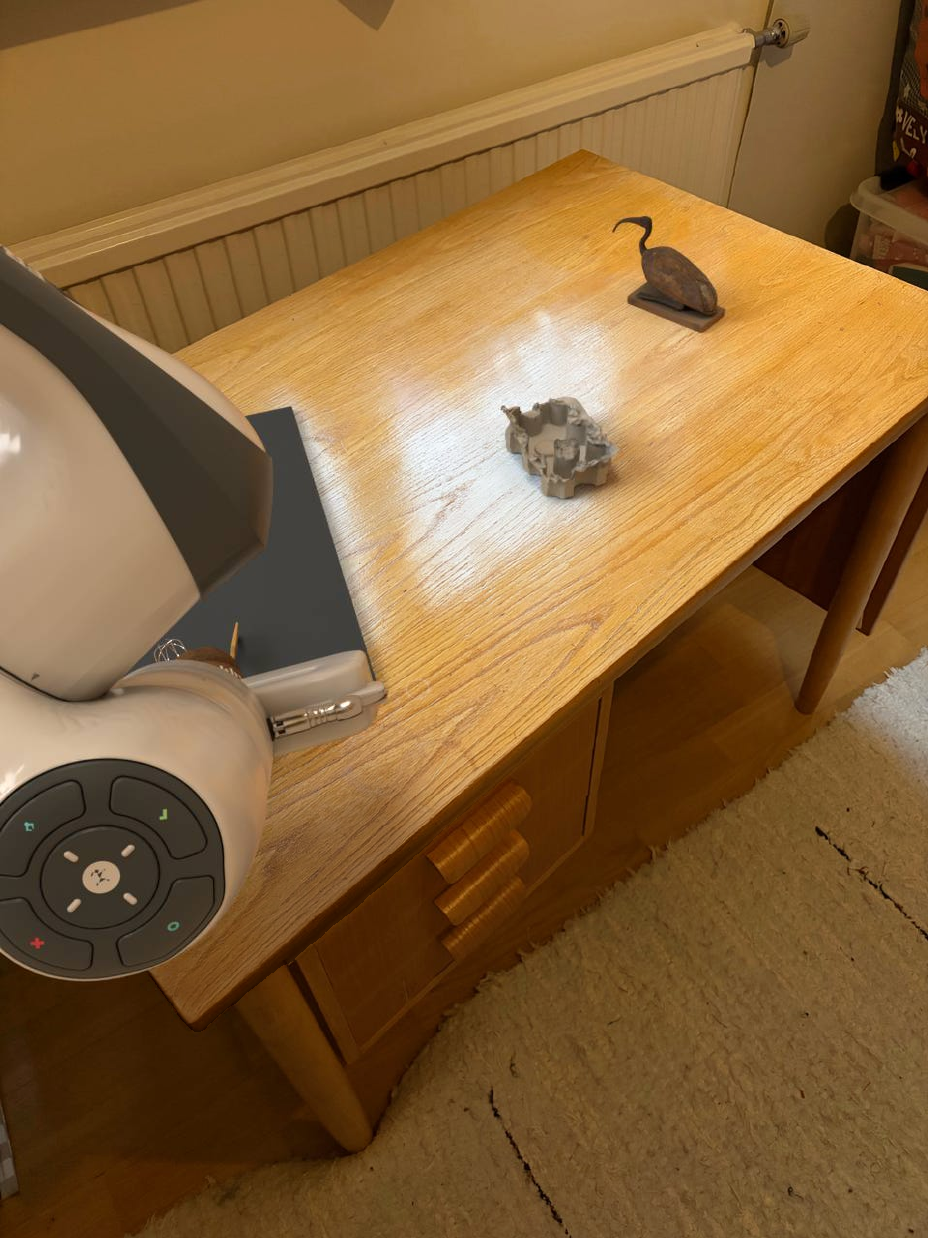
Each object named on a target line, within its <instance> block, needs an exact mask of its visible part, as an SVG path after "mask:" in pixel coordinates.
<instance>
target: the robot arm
mask: <svg viewBox="0 0 928 1238" xmlns="http://www.w3.org/2000/svg"><path fill="white" fill-rule="evenodd" d="M245 416H246V415H244V414H243V412H242V411H241V410H240V409H239V408H238V406H237V405H236V404H234V402H233V401H232V400H231V399H230V398H229V397H228V396H227V395H226V394H225V393H224V392H223V391H222V390H220V388H218V387H217V386H216V385H215V384H213V383H212V382H211V381H210V380H209V379H208V378H206V377H205V376H204V375H203V374H201V373H200V372H199V371H197V370H195V369H194V368H192V367H191V366H190V365H188V364H187V363H186V362H185V361H182V360H180V359H179V358H178V357H176V356H175V355H173V354H171V353H169V352H167V351H166V350H164V349H162V348H160V347H158V346H156V345H155V344H153V343H151V342H149V341H147V340H145V339H144V338H142V337H140V336H138V335H136V334H134V333H132V332H130V331H128V330H126V329H124V328H123V327H120V326H118V325H116V324H115V323H112V322H111V321H109V320H107V319H105V318H103V317H102V316H100V315H97V314H96V313H94V312H92V310H90V309H88V308H87V307H86V306H84V305H83V304H81V303H80V302H79V301H77V300H76V299H74V298H73V297H71V296H70V295H69V294H67V293H66V292H65V291H63V290H62V289H60V288H59V287H57V286H56V285H55V284H54V283H52V282H50V281H49V280H48V279H47V278H45V276H44V275H43V274H42V273H41V272H39V271H38V270H36V269H34V268H32V267H31V266H30V265H28V264H27V262H24V260H23V259H22V258H20V257H19V256H16V255H15V254H14V253H13V252H12V251H10V250H9V249H8V248H7V247H6V246H4V245H3V244H1V243H0V953H1V954H2V955H4V956H5V957H6V958H7V959H9V960H10V961H11V962H13V963H15V964H17V965H18V966H20V967H22V968H24V969H25V970H28V971H31V972H33V973H35V974H37V975H38V974H39V975H42V976H44V977H48V978H53V979H58V980H64V981H71V982H98V981H108V980H114V979H120V978H124V977H128V976H133V975H136V974H140V973H143V972H146V971H149V970H152V969H154V968H155V969H156V967H159V966H161V965H164V964H166V963H167V962H169V961H171V960H173V959H176V958H177V957H178V956H180V955H181V954H183V953H184V952H186V951H187V950H190V949H191V948H193V946H195V945H196V944H197V943H199V942H200V941H201V940H203V939H204V938H205V937H206V936H207V935H208V934H209V933H210V932H211V931H212V930H213V929H214V928H215V927H216V926H217V925H218V923H219V922H220V921H221V920H222V919H223V918H224V917H225V915H226V914H227V913H228V912H229V909H231V907H232V905H233V904H234V902H235V901H236V898H237V897H238V895H239V893H240V892H241V890H242V888H243V886H244V884H245V882H246V879H247V877H248V875H249V874H250V871H251V869H252V868H253V867H252V866H253V864H254V861H255V859H256V856H257V852H258V850H259V848H260V844H261V841H262V837H263V832H264V829H265V823H266V818H267V810H268V794H269V790H270V786H271V779H272V772H273V771H272V770H273V764H274V759H275V758H279V757H283V756H286V755H287V756H288V755H290V754H293V753H298V752H301V751H303V750H304V751H305V750H307V749H308V750H309V749H312V748H315V747H318V746H321V745H322V746H323V745H325V744H328V743H332V742H336V741H340V740H342V739H345V738H349V737H351V736H355V735H356V734H358V733H361V732H363V731H366V730H367V729H368V728H370V727H371V726H372V725H373V724H374V723H375V721H376V719H377V717H378V715H379V711H380V705H382V704H385V703H387V701H388V700H389V696H388V695H389V690H388V688H387V687H386V685H385V684H384V682H383V681H381V680H376V681H373V679H372V675H371V671H370V668H369V664H368V661H367V657H366V654H365V653H364V652H363V651H361V650H353V651H346V652H342V653H338V654H334V655H330V656H326V657H322V658H319V659H315V660H311V661H307V662H304V663H300V664H296V665H292V666H289V667H285V668H281V669H277V670H274V671H270V672H266V673H263V674H259V675H255V676H251V677H248V678H244V679H238V678H237V677H235V676H234V675H233V674H231V673H229V672H227V671H225V670H224V669H221V668H219V667H217V666H214V665H211V664H208V663H204V662H199V661H192V660H168V661H162V662H157V663H154V664H150V665H147V666H145V667H142V668H140V669H137V670H136V671H134V672H132V673H130V674H128V675H127V676H125V677H124V678H122V677H123V676H124V675H125V674H126V673H127V672H128V671H129V670H130V669H131V668H132V667H133V666H134V665H135V664H136V663H137V662H138V661H139V660H140V659H141V658H142V657H143V656H144V655H145V654H146V653H147V652H148V651H149V650H150V649H151V648H152V647H153V646H154V645H155V644H156V643H157V642H158V641H159V640H160V639H161V638H162V637H163V636H164V635H165V634H166V633H167V632H168V631H169V630H170V629H171V628H172V627H173V626H174V625H175V624H176V623H177V622H178V621H179V620H180V619H181V618H182V617H183V616H184V615H185V614H186V613H187V612H188V611H189V610H190V609H191V608H192V607H193V606H194V605H195V604H196V603H197V602H198V601H199V600H200V601H201V602H204V601H205V600H206V599H207V598H208V597H210V596H211V595H212V594H213V593H214V592H216V591H217V590H218V589H219V588H220V587H222V586H223V585H224V584H225V583H226V582H228V581H229V580H230V579H231V578H232V577H234V576H235V575H236V574H237V573H238V572H240V571H241V570H242V569H243V568H244V567H246V566H247V565H248V564H249V563H250V562H252V561H253V560H254V559H255V558H256V557H258V556H259V555H260V554H261V553H262V552H264V551H265V549H266V543H267V538H268V533H269V527H270V520H271V511H272V500H273V464H272V457H270V456H269V455H268V454H267V453H266V451H265V449H264V446H263V444H262V442H261V440H260V438H259V436H258V435H257V433H256V431H255V430H254V428H253V427H252V425H251V424H250V423H249V421H248V420H247V419H246V417H245ZM121 678H122V679H121Z"/></svg>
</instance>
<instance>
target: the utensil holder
mask: <svg viewBox="0 0 928 1238" xmlns="http://www.w3.org/2000/svg"><path fill="white" fill-rule="evenodd" d="M237 634H238V622H236V625H235V630H234V634H233V638H232V643H231V653H230V655H229V654H228V653H227V652H225V651H223V650H220V649H217V648H212V647H201V648H195V649H191V650H189V651H186V649H185V647H184V646H183V647H184V649H185V651H186V652H184V653H182V654H181V655H178V654H177V653H176V650H175V648H174V647H173V648H174V650H175V651H174V650H173V649H172V648H171V647H170V648H171V649H172V650H173V651H174V652H175V653H176V654H177V658H175V659H174V660H192V661H199V662H204V663H208V664H211V665H214V666H217V667H219V668H221V669H224V670H225V671H227V672H229V673H231V674H233V675H234V676H235V677H237V678H238V679H244V676H243V675H242V674H241V671H240V668H239V666H238V665H237V663H236V661H235V656H236V648H237V639H238V635H237ZM167 639H168V638H167ZM167 639H166V641H167ZM169 641H170V640H169ZM171 641H173V640H171ZM171 641H170V642H171ZM178 641H179V640H178ZM180 642H181V641H180ZM159 643H162V642H159ZM159 643H158V646H159ZM168 643H169V642H168ZM168 643H167V644H165V646H166V645H167V646H168V645H172V646H173V645H177V644H172V643H171V644H168ZM163 644H164V643H163ZM181 644H182V643H181ZM182 645H183V644H182ZM162 646H164V645H162ZM165 646H164V647H165ZM178 646H180V645H178ZM160 647H161V646H160ZM160 647H158V648H160ZM164 647H163V648H164ZM168 647H169V646H168ZM180 647H182V646H180ZM183 647H182V648H183ZM158 648H157V649H158ZM163 648H162V650H163ZM157 649H156V650H157ZM156 650H155V651H156ZM162 650H161V649H160V651H161V652H160V653H162ZM166 653H167V648H166ZM162 655H163V653H162ZM154 656H155V652H154ZM159 657H160V654H159ZM163 657H164V655H163ZM167 657H168V654H167ZM164 658H165V657H164ZM155 659H156V657H155ZM165 660H166V659H165ZM168 660H169V658H168ZM156 661H157V660H156ZM166 661H167V660H166Z"/></svg>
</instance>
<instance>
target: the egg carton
mask: <svg viewBox="0 0 928 1238" xmlns="http://www.w3.org/2000/svg"><path fill="white" fill-rule="evenodd" d="M500 411H502V414H503V413H504V414H505V415H506V419H507V420H509V423H508V425H507V427H506V429H505V432H504V440H505V447H506V450H507V452H509V453H511V454H513V453H514V454H521V460H522V462H521V465H522V470H525V471H526V472H527V474H528V475H537V476H538V475H539V476H541V480H540V482H541V483H540V491H541V492H542V494H543V495H544V496H545V497H552V496H553V497H558V498H561V499H567V498H571V497H574V496H575V494H574V493H575V487H576V486H577V485H582V484H586V485H587V484H589V485H594V486H595V487H598V486H601V485H604V484H606V483H607V477H608V474H610V472H611V468H612V460H613V459H612V458H613V456H615V454H617V453H618V452H619V451H620V450H621V448H620V447H619V446H618V445H616V444H615V443H614V442H613V441H611V440H609V438H608V435H607V434H605V433H604V431H603V428H602V426H601V425H599V424H598V423H597V422H596V421H595V420H594V418H592V416H590V415H589V414H588V413H587V411H586V409H585V408H584V406H583V405H582V404H581V402H580V401H579V400H578V399H577V398H575V397H573V396H561V397H558V398H549V399H548V400H547V401H546V402H544V403H539V401H538V402H535V403H534V404H533V405H532V408H531V409H530V410H527V411H525V412H523V411H522V409H521V406H515V405H514V406H512V407H509V408H508V407H506V405H502V406H501V407H500Z"/></svg>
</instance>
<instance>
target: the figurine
mask: <svg viewBox="0 0 928 1238" xmlns="http://www.w3.org/2000/svg"><path fill="white" fill-rule="evenodd" d="M625 223H630V224H634V225H637V226H639V227H641V228H643V229H644V233H643V235H642V236H641V238H640V240H639V242H638V250H639V255H640V257H641V259H640V265H641V266H640V267H641V270H642V272H643V276H644V279H645V280H646V282H644V283H643V284H642V285H640V286H639V287H638V288H636V289H635V290H634V291H632V292H631V293H630V294H628V295H627V297H626V303H627V304H630V305H632V306H635V307H636V308H639V309H642V310H645V311H647V312H649V313H652V314H654V315H656V316H659V317H660V318H664V319H666V320H668V321H671V322H673V323H676V324H678V325H681V326H683V327H686V328H688V329H691V330H692V331H696V332H699V333H703V332H704V331H706V330H707V329H708V328H710V327H711V326H712V325H714V324H715V323H716V322H718V321H719V320H720V319H721V318H722V317H723V316H725V313H726V308H724V307H722V306H719V305H718V303H719V299H718V293H717V290H716V288H715V286H714V285H713V284H712V281H710V279H709V278H708V276H707V275H706V274H705V273H704V272H703V271H702V270H701V269H700V268H699V267H698V266H697V265H696V264H695V263H693V262H692V260H690V259H689V258H688V257H687V256H685V255H684V254H683V253H681V252H680V251H678V250H677V249H676V248H673V247H671V246H666V245H663V246H662V245H659V246H654V247H650V248H647V247H646V242H647V240H648V239H649V237H650V236H651V234H652V232H653V231H652V230H653V219H652V218H651V217H650V216H648V215H642V216H631V217H625V218H622V219H621V220H618V222H616V224H615V225H614V227H613V229H612V231H611V232H612V233H613V234H614V233H615V231H616V229H617V228H618V227H619V226H620V225H621V224H625Z"/></svg>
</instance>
